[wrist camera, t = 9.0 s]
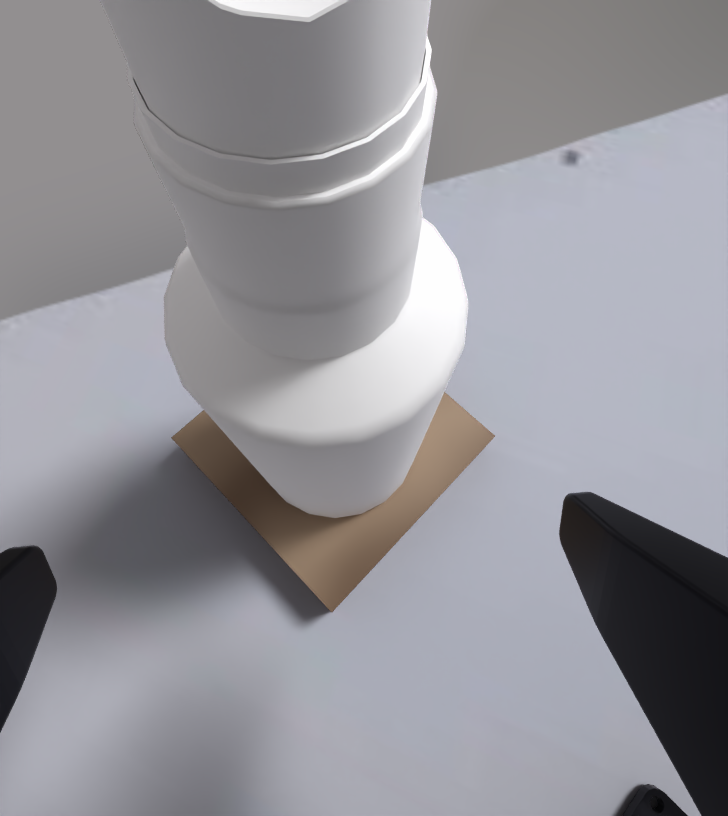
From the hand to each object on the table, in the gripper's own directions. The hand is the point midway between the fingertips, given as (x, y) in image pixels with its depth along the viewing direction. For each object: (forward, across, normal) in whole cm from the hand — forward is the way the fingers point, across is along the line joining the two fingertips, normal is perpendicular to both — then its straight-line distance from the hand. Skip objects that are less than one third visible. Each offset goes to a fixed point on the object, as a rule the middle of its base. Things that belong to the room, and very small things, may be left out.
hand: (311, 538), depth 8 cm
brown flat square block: (+13, 0, +6) cm, 15 cm away
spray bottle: (+12, 0, +5) cm, 13 cm away
